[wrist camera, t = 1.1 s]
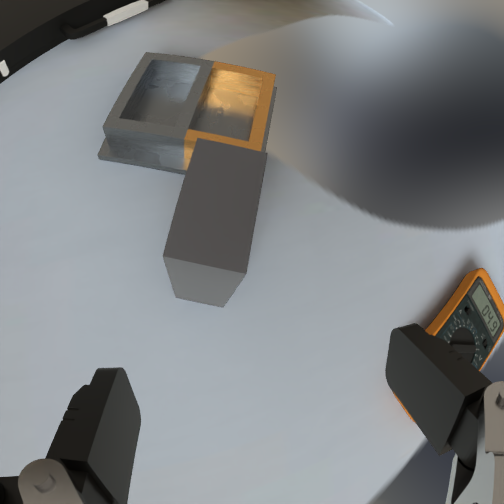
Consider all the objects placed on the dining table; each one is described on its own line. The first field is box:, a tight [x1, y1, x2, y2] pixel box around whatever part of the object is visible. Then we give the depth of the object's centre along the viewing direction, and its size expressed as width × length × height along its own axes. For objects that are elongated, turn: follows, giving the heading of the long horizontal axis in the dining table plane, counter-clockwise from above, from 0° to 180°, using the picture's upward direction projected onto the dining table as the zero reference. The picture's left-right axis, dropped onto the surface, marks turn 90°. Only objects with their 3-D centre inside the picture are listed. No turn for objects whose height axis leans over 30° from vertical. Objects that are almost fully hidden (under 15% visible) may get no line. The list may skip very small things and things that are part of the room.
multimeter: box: [393, 268, 504, 423], centre depth 28 cm, size 9×18×3 cm, turn 127°
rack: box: [98, 52, 277, 175], centre depth 30 cm, size 14×16×4 cm
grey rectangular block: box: [163, 138, 267, 307], centre depth 22 cm, size 7×4×12 cm, turn 170°
